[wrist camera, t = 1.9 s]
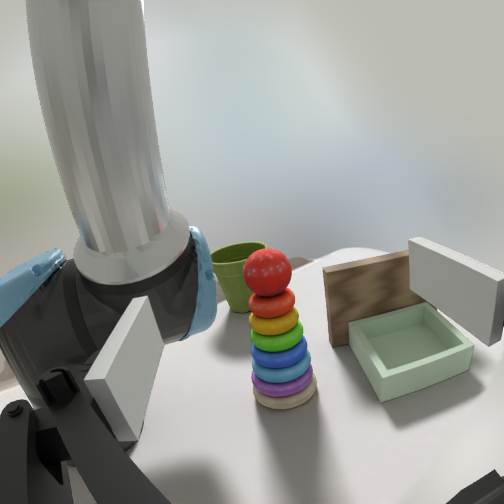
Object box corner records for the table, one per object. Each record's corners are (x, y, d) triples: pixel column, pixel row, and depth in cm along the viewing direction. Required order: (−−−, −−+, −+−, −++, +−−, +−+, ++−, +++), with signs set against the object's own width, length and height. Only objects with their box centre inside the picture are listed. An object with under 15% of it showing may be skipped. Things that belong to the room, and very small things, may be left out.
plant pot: (228, 293, 71) (217, 245, 68) (281, 290, 68) (272, 238, 65) (210, 320, 60) (195, 265, 57) (271, 318, 57) (260, 259, 54)
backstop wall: (332, 347, 45) (326, 272, 42) (329, 340, 47) (322, 267, 44) (436, 318, 45) (439, 248, 42) (430, 313, 47) (432, 244, 43)
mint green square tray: (380, 402, 32) (382, 377, 31) (349, 345, 45) (348, 322, 44) (468, 369, 32) (474, 344, 31) (424, 324, 45) (426, 301, 43)
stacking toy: (322, 405, 34) (307, 256, 29) (256, 417, 35) (220, 272, 29) (310, 366, 42) (293, 235, 37) (253, 377, 42) (224, 247, 37)
